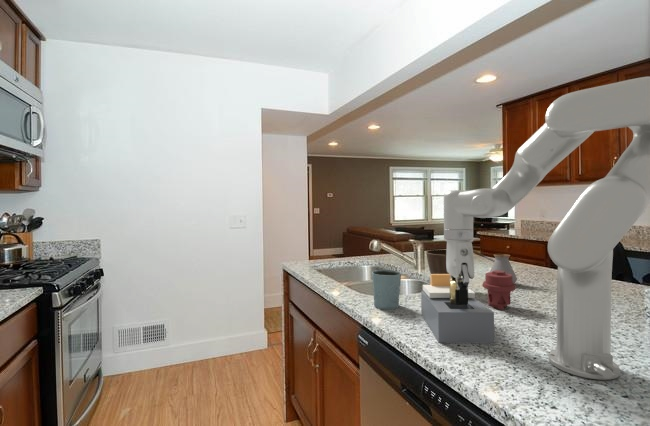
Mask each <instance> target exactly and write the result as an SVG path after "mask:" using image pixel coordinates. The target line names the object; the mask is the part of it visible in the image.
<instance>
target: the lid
mask: <svg viewBox="0 0 650 426" xmlns="http://www.w3.org/2000/svg"><path fill="white" fill-rule="evenodd" d="M429 274H430V273H429ZM429 279H430V280H429V281H430V284H422V291H424V292H425V293H426V294H427V295H428V296H429V298H450V274H430V278H429ZM468 298H476V292H475V291H473V290H472V289H471V288H469V287H468Z"/></svg>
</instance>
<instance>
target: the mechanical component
mask: <svg viewBox="0 0 650 426" xmlns="http://www.w3.org/2000/svg"><path fill="white" fill-rule="evenodd" d="M482 288H484V290H487V302H488V306H489V307H492V308H496V309H498V310H499V311H503V310H504V309H505V308H506V307H508V306H510V305H511V292H514V291H516V284H515V283H514V284H513V276H512V275H511V274H508V273H506V272H504V271H499V270H495V271H492V272H490V271H489V272H485V280H484V281H483V282H482Z"/></svg>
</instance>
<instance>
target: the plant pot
mask: <svg viewBox="0 0 650 426" xmlns="http://www.w3.org/2000/svg"><path fill="white" fill-rule="evenodd" d="M446 250H447V249H443V248H442V249H430V250H427V251H426V252H425V253H426V260H427V265H428V270H429V274H449V273H448V272H447V268H446Z"/></svg>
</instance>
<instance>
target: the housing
mask: <svg viewBox="0 0 650 426" xmlns="http://www.w3.org/2000/svg"><path fill="white" fill-rule="evenodd" d="M420 298H421V299H420V304H421V306H420V308H421V310H420V314H421V317H422V319H423V320H424V322H425V323H426V325H427V326H428V328H429V330H430V331H431V333H432V335H433V336H434V337H435V339H436V340H437V342H438V343H440V344H441V343H442V344H447V343H448V344H450V343H452V344H454V343H455V344H495V312H494V311H492V309H490V308H489V307H487V306H486V305H485V304H484V303H483V302H481V301H480V300H478V299H477V298H476V297H475V298H468V304H467V305H454V304H451V303H450V298H429V296H428V295H427V294H426V293H425V292H424V290H420Z"/></svg>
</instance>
